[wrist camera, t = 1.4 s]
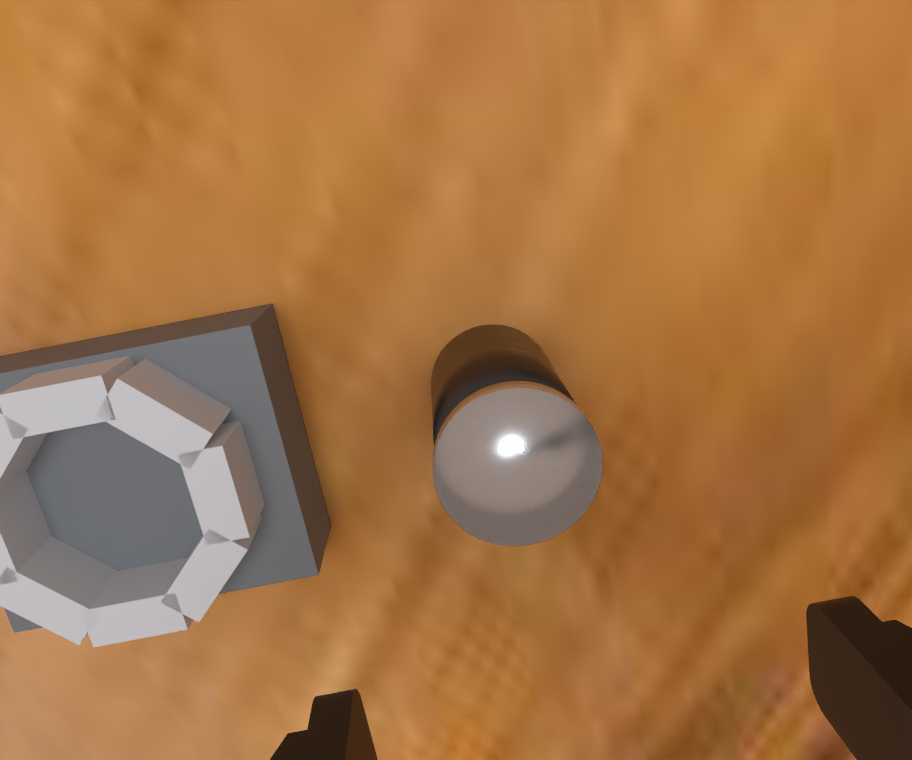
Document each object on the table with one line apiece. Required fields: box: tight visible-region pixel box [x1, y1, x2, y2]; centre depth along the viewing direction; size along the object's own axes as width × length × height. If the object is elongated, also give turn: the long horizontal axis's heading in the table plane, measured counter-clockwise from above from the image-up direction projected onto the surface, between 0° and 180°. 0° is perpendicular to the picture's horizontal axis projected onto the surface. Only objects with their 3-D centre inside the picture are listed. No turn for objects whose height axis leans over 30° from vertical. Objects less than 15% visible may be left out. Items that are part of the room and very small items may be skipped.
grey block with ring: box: [0, 304, 331, 647], centre depth 28 cm, size 12×10×6 cm
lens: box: [431, 325, 603, 546], centre depth 27 cm, size 5×5×9 cm
